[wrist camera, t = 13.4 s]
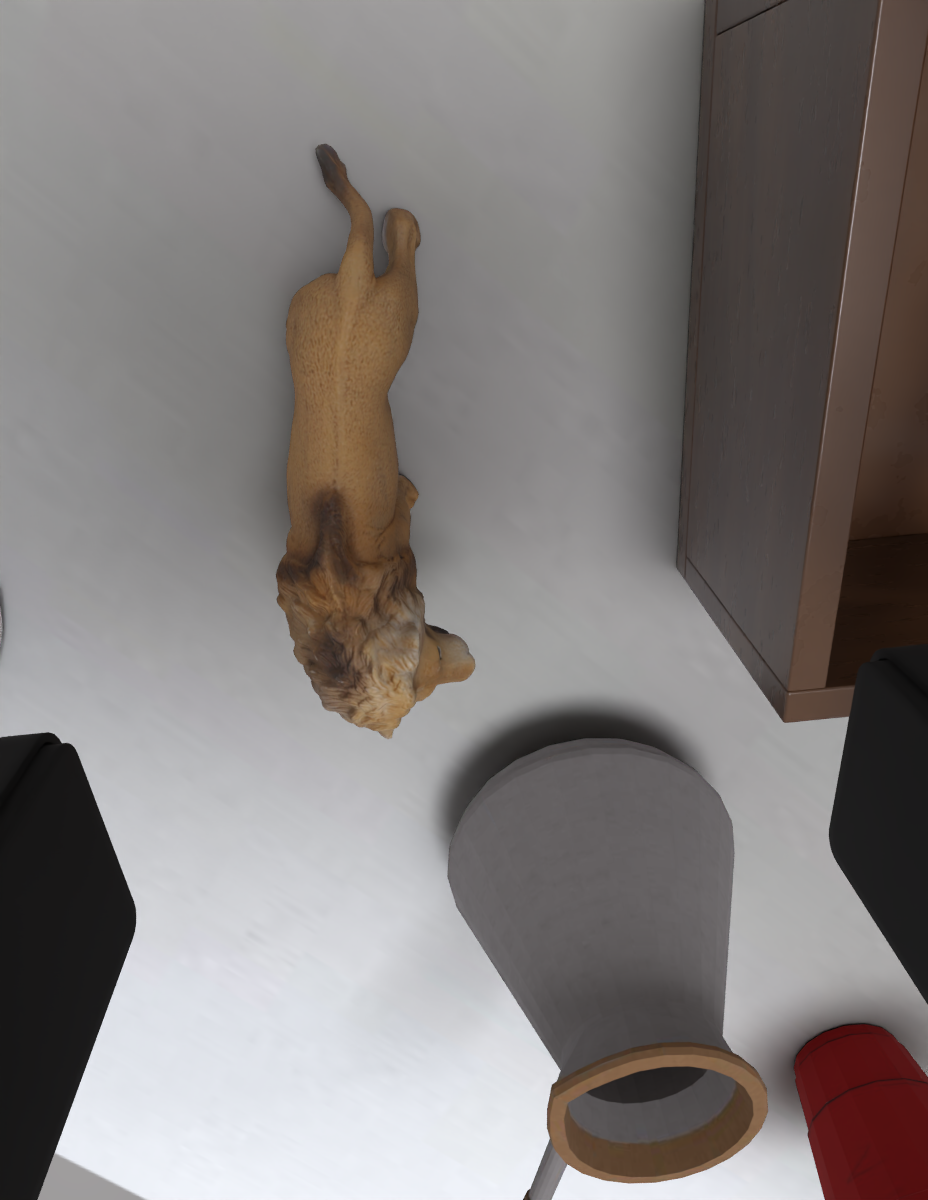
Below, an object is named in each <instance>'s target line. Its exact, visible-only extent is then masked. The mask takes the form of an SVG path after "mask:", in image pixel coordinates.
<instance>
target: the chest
mask: <svg viewBox="0 0 928 1200" xmlns="http://www.w3.org/2000/svg"><path fill="white" fill-rule="evenodd" d="M677 569H678V571H679V572H680V574H681V575H682V577H683V578H684V579H685V581H686V582H687V584H688V585H689V587H690V588H691V590H692V591H693V593H694V594H695V595H696V597H697V598H698V600H699V601H700V603H701V604H702V606H703V607H704V608H705V610H706V611H707V613H708V614H709V616H710V617H711V619H712V620H713V621H714V623H715V624H716V626H717V627H718V629H719V630H720V631H721V633H722V634H723V636H724V637H725V639H726V640H727V642H728V643H729V644H730V646H731V647H732V649H733V650H734V652H735V653H736V655H737V656H738V657H739V659H740V660H741V662H742V663H743V665H744V666H745V668H746V669H747V670H748V672H749V673H750V675H751V676H752V678H753V679H754V681H755V682H756V683H757V685H758V686H759V688H760V689H761V691H762V692H763V693H764V695H765V696H766V698H767V699H768V701H769V702H770V704H771V705H772V706H773V708H774V709H775V711H776V712H777V714H778V715H779V717H780V718H781V719H782V721H783V722H785V723H788V722H798V721H808V720H819V719H829V718H839V717H849V716H850V711H851V705H852V699H853V694H854V688H855V683H856V677H857V673H858V670H859V667H860V666H861V665H862V664H863V663H865V662H870V660H871V657H872V655H873V654H874V653H875V651H877V650H879V649H881V648H891V647H901V646H911V645H921V644H928V0H706V5H705V25H704V45H703V64H702V84H701V104H700V124H699V143H698V163H697V183H696V203H695V222H694V242H693V262H692V282H691V302H690V321H689V341H688V361H687V381H686V400H685V420H684V440H683V460H682V480H681V499H680V519H679V539H678V559H677Z"/></svg>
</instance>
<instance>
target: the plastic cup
mask: <svg viewBox="0 0 928 1200" xmlns="http://www.w3.org/2000/svg"><path fill="white" fill-rule="evenodd" d="M794 1071H795V1075H796V1079H795V1082H796V1086H797V1090H798V1093H799V1097H800V1101H801V1104H802V1108H803V1112H804V1115H805V1119H806V1123H807V1127H808V1130H809V1131H808V1138H809V1142H810V1145H811V1149H812V1153H813V1157H814V1160H815V1164H816V1168H817V1172H818V1176H819V1179H820V1183H821V1187H822V1191H823V1194H824V1198H825V1200H928V1077H927V1075H926V1074H925V1073H924V1072H923V1070H922V1069H921V1068H920V1066H919V1065H918V1064H917V1062H916V1061H915V1060H914V1059H913V1057H912V1056H911V1055H910V1053H909V1052H908V1051H907V1049H906V1048H905V1047H904V1046H903V1045H902V1044H900V1043H899V1042H898V1041H897V1040H896V1038H895V1037H894V1036H893V1035H892V1034H890V1033H889V1032H888V1031H886V1030H885V1029H883V1028H882V1027H877V1026H872V1025H867V1024H859V1025H847V1026H842V1027H839V1028H836V1029H833V1030H830V1031H827V1032H824V1033H822V1034H821V1035H819V1036H817V1037H816V1038H814V1039H813V1040H811V1041H809V1042H808V1043H807V1044H806V1045H805V1046H804V1047H803V1048H802V1050H801V1051H800V1052H799V1053H798V1054H797V1056H796V1060H795V1065H794Z"/></svg>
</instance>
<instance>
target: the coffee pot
mask: <svg viewBox="0 0 928 1200" xmlns="http://www.w3.org/2000/svg"><path fill="white" fill-rule="evenodd" d="M733 868H734V840H733V826H732V821H731V819H730V817H729V814H728V812H727V810H726V808H725V806H724V804H723V801H722V799H721V797H720V795H719V794H718V793H717V792H716V791H715V790H714V789H713V787H712V786H711V785H710V784H709V783H708V782H707V781H706V780H705V779H704V778H703V777H702V776H701V775H700V774H699V773H698V772H697V771H696V770H695V769H693V768H692V767H690V766H688V765H687V764H685V763H683V762H682V761H680V760H678V759H676V758H674V757H672V756H670V755H669V754H667V753H665V752H663V751H661V750H659V749H657V748H655V747H653V746H649V745H645V744H641V743H637V742H633V741H629V740H624V739H608V738H584V739H579V740H574V741H569V742H564V743H559V744H554V745H549V746H547V747H544V748H542V749H540V750H538V751H535V752H533V753H531V754H528V755H526V756H524V757H521V758H519V759H517V760H515V761H514V762H512V763H511V764H510V765H508V766H507V767H506V768H504V769H503V770H501V771H500V772H499V773H497V774H496V775H495V776H493V777H492V778H490V779H489V780H488V781H487V783H486V784H485V785H484V786H483V787H482V789H481V790H480V791H479V792H478V793H477V795H476V796H475V797H474V798H473V800H472V801H471V802H470V803H469V805H468V806H467V808H466V810H465V812H464V813H463V815H462V817H461V819H460V822H459V824H458V827H457V829H456V831H455V834H454V836H453V838H452V841H451V843H450V848H449V861H448V880H449V883H450V886H451V890H452V893H453V896H454V899H455V903H456V906H457V908H458V910H459V911H460V913H461V915H462V916H463V918H464V919H465V921H466V922H467V924H468V926H469V927H470V929H471V930H472V932H473V933H474V935H475V937H476V938H477V940H478V941H479V943H480V944H481V946H482V948H483V949H484V951H485V952H486V954H487V955H488V957H489V959H490V960H491V962H492V963H493V965H494V966H495V968H496V970H497V971H498V973H499V974H500V976H501V977H502V979H503V981H504V982H505V984H506V985H507V987H508V988H509V990H510V992H511V993H512V995H513V996H514V998H515V999H516V1001H517V1003H518V1004H519V1006H520V1007H521V1009H522V1010H523V1012H524V1014H525V1015H526V1017H527V1018H528V1020H529V1021H530V1023H531V1025H532V1026H533V1028H534V1029H535V1031H536V1032H537V1034H538V1036H539V1037H540V1039H541V1040H542V1042H543V1043H544V1045H545V1047H546V1048H547V1050H548V1051H549V1053H550V1054H551V1056H552V1058H553V1059H554V1061H555V1062H556V1064H557V1065H558V1067H559V1069H560V1070H561V1072H560V1074H559V1077H558V1080H557V1082H555V1083H554V1084H553V1085H552V1088H551V1093H550V1097H549V1102H548V1108H547V1129H548V1133H549V1136H550V1140H549V1143H548V1145H547V1148H546V1150H545V1153H544V1155H543V1158H542V1161H541V1163H540V1166H539V1168H538V1171H537V1173H536V1176H535V1179H534V1181H533V1184H532V1186H531V1189H529V1190H528V1191H527V1193H526V1195H525V1197H524V1199H523V1200H551V1199H552V1197H553V1194H554V1192H555V1190H556V1188H557V1186H558V1183H559V1181H560V1179H561V1177H562V1175H563V1172H564V1170H565V1168H566V1166H567V1164H568V1165H570V1166H571V1167H573V1168H575V1169H576V1170H578V1171H579V1172H581V1173H583V1174H586V1175H589V1176H592V1177H595V1178H598V1179H602V1180H606V1181H614V1182H622V1183H655V1182H661V1181H667V1180H672V1179H678V1178H683V1177H686V1176H689V1175H692V1174H695V1173H698V1172H701V1171H704V1170H707V1169H709V1168H711V1167H713V1166H715V1165H717V1164H719V1163H721V1162H723V1161H725V1160H727V1159H729V1158H731V1157H732V1156H733V1155H735V1154H736V1153H737V1152H739V1151H740V1150H741V1149H743V1148H744V1147H745V1146H747V1145H748V1144H749V1143H750V1141H751V1140H752V1139H753V1138H754V1137H755V1135H756V1134H757V1133H758V1132H759V1131H760V1129H761V1128H762V1125H763V1123H764V1120H765V1118H766V1115H767V1113H768V1103H767V1088H766V1086H765V1084H764V1082H763V1081H762V1079H761V1077H760V1075H759V1073H758V1072H757V1071H756V1070H755V1068H754V1067H752V1066H751V1065H750V1064H749V1063H747V1062H746V1061H745V1060H744V1059H742V1058H741V1057H740V1056H739V1055H737V1054H734V1053H733V1052H732V1051H731V1049H730V1048H729V1046H728V1044H727V1043H726V1041H725V1040H724V1038H723V1037H722V1035H723V1020H724V1004H725V989H726V974H727V959H728V944H729V928H730V913H731V898H732V883H733Z"/></svg>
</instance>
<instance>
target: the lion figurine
mask: <svg viewBox="0 0 928 1200" xmlns="http://www.w3.org/2000/svg"><path fill="white" fill-rule="evenodd" d="M316 155H317V158H318V161H319V164H320V166H321V169H322V173H323V178H324V181H325V184H326V186H327V187H328V188H329V189H330V190H331V191H332V192H333V193H334V194H335V195H336V196H337V198H338V199H339V200H340V201H341V203H342V204H343V205H344V206H345V208H346V209H347V211H348V213H349V215H350V218H351V231H350V234H349V238H348V243H347V248H346V252H345V254H344V256H343V258H342V262H341V265H340V268H339V272H338V273H337V274H336V273H327V274H324V275H321V276H320V277H318V278H317V279H315V280H313V281H312V282H310V283H309V284H307V285H305V286H303V287H302V288H301V289H300V290H298V292H297V293H296V294H295V295H294V297H293V299H292V301H291V304H290V308H289V313H288V318H287V321H286V328H287V331H286V345H287V350H288V353H289V356H290V365H291V371H292V377H293V382H294V389H295V408H294V416H293V423H292V430H291V439H290V448H289V457H288V463H287V497H288V507H289V513H290V519H291V525H292V527H291V529H290V531H289V533H288V537H287V543H286V547H287V553H286V554H285V555H284V556H283V558H282V560H281V561H280V564H279V566H278V569H277V573H276V577H277V582H278V591H279V595H278V597H277V602H278V604H279V606H280V607H281V608H282V609H283V610H284V612H285V613H286V618H287V621H288V624H289V630H290V636H291V638H292V639H293V640H294V641H295V647H294V650H293V651H294V655H295V657H296V658H297V660H298V662H299V663H301V664H303V666H304V670H305V672H306V674H307V675H308V676H309V677H310V679H311V683H312V687H313V689H314V690H315V692H316V693H317V694H318V695H319V697H320V699H321V700H322V706H323V707H324V708H325V710H328V711H333V712H337V713H339V714H340V715H341V716H342V718H344V719H345V720H346V721H348V722H350V723H354V724H355V725H356V726H358V727H366V728H369V729H371V730H373V731H378V732H379V733H380V734H381V735H382V736H383V737H385V738H387V739H390V738H392V733H393V730H394V729H395V728H397V727H398V726H399V724H400V722H401V718H402V717H404V716H405V715H407V714H408V713H409V711H410V708H412V707H413V706H414V705H415V703H416V702H417V701H422V700H424V699H425V698H426V697H428V696H429V695H430V694H431V693H432V692H433V690H434V689H435V687H436V685H438V684H443V683H449V682H460V681H464V680H466V679H467V678H468V677H469V676H470V675H471V674H472V672H473V671H474V669H475V660H474V658H473V656H472V655H471V654H470V653H469V649H468V646H467V644H466V643H465V641H464V640H463V639H462V638H460V637H459V636H457V635H454V634H449V633H448V632H447V631H446V630H444V629H441V628H439V627H437V626H432V625H428V624H426V623H425V618H424V613H425V602H424V600H423V598H424V597H423V594H422V593H421V592H420V591H419V590H418V589H417V587H416V577H417V568H416V561H415V557H414V554H413V552H412V550H411V548H410V545H409V538H410V519H411V516H410V509H411V508H412V507H413V506H414V503H415V501H416V500H417V498H418V495H419V494H418V491H417V490H416V488H415V487H414V485H413V484H412V483H411V482H410V481H409V480H408V479H406V478H405V477H404V476H402V475H398V457H397V449H396V442H395V435H394V426H393V419H392V414H391V409H390V405H389V401H388V397H387V393H388V390H389V388H390V386H391V384H392V382H393V380H394V378H395V376H396V373H397V372H398V370H399V369H400V367H401V365H402V364H403V362H404V361H405V359H406V357H407V355H408V353H409V349H410V346H411V343H412V338H413V332H414V328H415V325H416V322H417V318H418V313H419V312H418V293H417V283H416V274H415V250H416V248H417V247H418V246H419V244H420V241H421V238H420V230H419V226H418V222H417V220H416V218H415V217H414V216H413V215H412V213H410V212H409V211H407V210H404V209H398V208H394V209H390V210H388V212H387V214H386V216H385V220H384V224H383V229H382V241H383V245H384V248H385V250H386V252H387V253H388V255H389V264H388V266H387V269H386V271H385V273H384V274H382V275H381V276H379V277H377V278H376V277H375V275H374V264H373V242H374V227H373V219H372V213H371V210H370V208H369V206H368V205H367V203H366V202H365V201H364V199H363V198H362V197H361V196H360V194H359V193H358V192H357V191H356V189H355V188H354V187H353V186H352V185H351V184H350V182H349V180H348V178H347V173H346V167H345V165H344V164H343V163H342V162H341V161H340V159H339V157H338V155H337V153H336V151H335V150H334V149H333V148H332V147H331V146H329V145H327V144H321V145H318V147H317V148H316Z"/></svg>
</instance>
